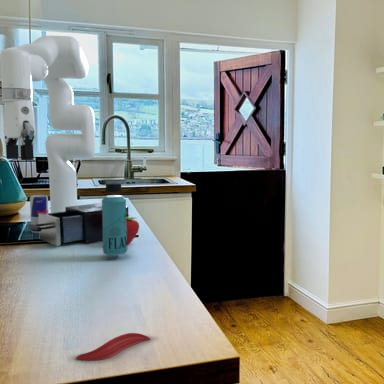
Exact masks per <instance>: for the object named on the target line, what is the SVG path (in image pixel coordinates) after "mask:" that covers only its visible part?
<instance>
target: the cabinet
mask: <svg viewBox="0 0 384 384" xmlns="http://www.w3.org/2000/svg"><path fill="white" fill-rule="evenodd" d="M65 209H66V210H65V211H73V212H77V213H80V214H84V226H85V239H84V240H78V241H77V242H79V243H82V244H85V245H89V244H94V243H95V244H96V243H101V242H102V243H103V241H102V238H103V219H102V202H98V203H89V204H80V205H78V204H77V206H70V207H65ZM126 211H127V212H126V214H127V213H128V214H127V217H128V215H129V206H127V205H126Z"/></svg>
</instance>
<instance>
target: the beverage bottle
mask: <svg viewBox="0 0 384 384" xmlns="http://www.w3.org/2000/svg"><path fill="white" fill-rule="evenodd" d="M122 191H123V188H122V183H120V182H108V183H106V184H105V192H106V193H107V192H108V193H119V192H122ZM101 203H102V219H103V238H102V253H103V254H104V255H106V256H119V255H121V256H122V255H125V254H126V253H127V251H128V245H127V228H126V222H127V221H126V216H127V214H126V206H127V199H126V198H125V197H124V196H123V195H122V194H121V195H120V194H110V195H106V196H104V198H102V200H101Z"/></svg>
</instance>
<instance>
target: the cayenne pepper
mask: <svg viewBox="0 0 384 384" xmlns="http://www.w3.org/2000/svg"><path fill="white" fill-rule="evenodd" d="M150 340H151V338H150V337H149V336H147V335H144V334H142V333H139V332H128V333H124V334H120V335H118V336H115V337H113V338H112V339H109V340H108V341H107V342H105V343H103V344H102V345H100V346H99V347H97V348H95V349H93V350H91V351H88V352H85V353H82V354H78V355H77V356H76V357H75V359H77V360H79V361H101V360H106V359H109V358H112V357H114V356H116V355H118V353H120V352H121V351H123V350H125V349H128V348H129V347H132V346H134V345H136V344H139V343H143V342H145V341H150Z"/></svg>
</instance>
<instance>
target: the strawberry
mask: <svg viewBox="0 0 384 384" xmlns="http://www.w3.org/2000/svg"><path fill="white" fill-rule="evenodd" d="M126 212H127V211H126ZM127 214H128V217H127V216H126V221H127V222H126V228H127V246H129V245H130V244H131V243H132V241H134V239H135V237H136V236H137V235H138V233H139V229H140V223H139V221H137V220H135V219H136V217H132V216H131V217H130V215H129V212H128V213H127Z"/></svg>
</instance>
